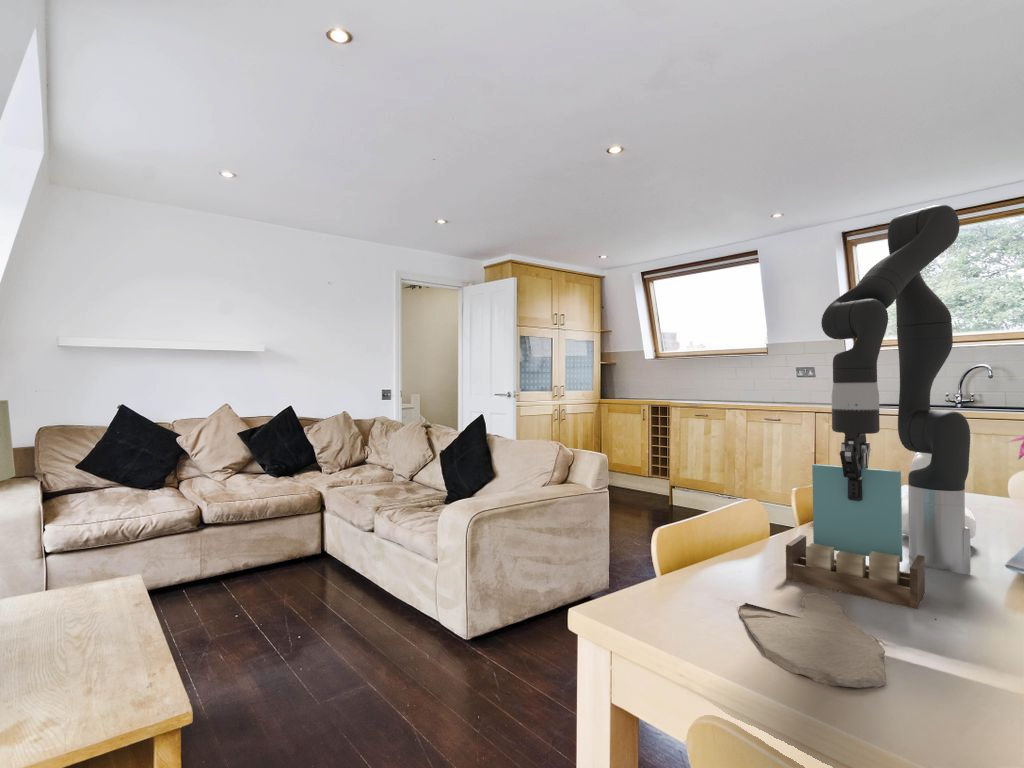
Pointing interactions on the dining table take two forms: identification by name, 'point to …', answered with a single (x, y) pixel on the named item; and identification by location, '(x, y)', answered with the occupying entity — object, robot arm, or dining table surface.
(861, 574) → the block
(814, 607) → the stone tablet
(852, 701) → the dining table surface
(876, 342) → the robot arm
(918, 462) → the decorative rooster
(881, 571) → the offcut
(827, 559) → the offcut
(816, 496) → the teal sheet
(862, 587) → the walnut rack
